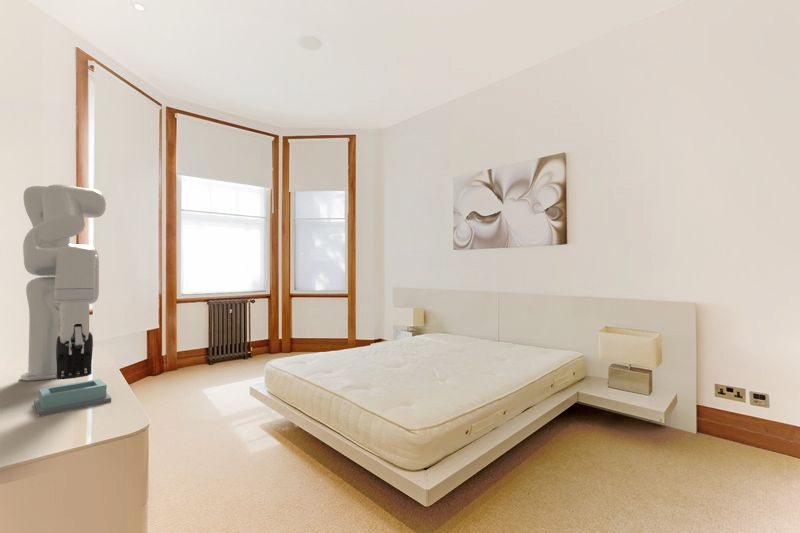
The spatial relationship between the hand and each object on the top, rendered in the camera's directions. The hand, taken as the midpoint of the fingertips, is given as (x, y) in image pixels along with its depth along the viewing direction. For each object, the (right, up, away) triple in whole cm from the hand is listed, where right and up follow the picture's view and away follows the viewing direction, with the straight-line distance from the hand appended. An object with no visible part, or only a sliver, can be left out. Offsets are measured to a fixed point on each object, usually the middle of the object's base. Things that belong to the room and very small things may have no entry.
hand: (73, 368), depth 91 cm
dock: (0, -8, 0) cm, 8 cm away
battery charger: (0, -2, 0) cm, 2 cm away
